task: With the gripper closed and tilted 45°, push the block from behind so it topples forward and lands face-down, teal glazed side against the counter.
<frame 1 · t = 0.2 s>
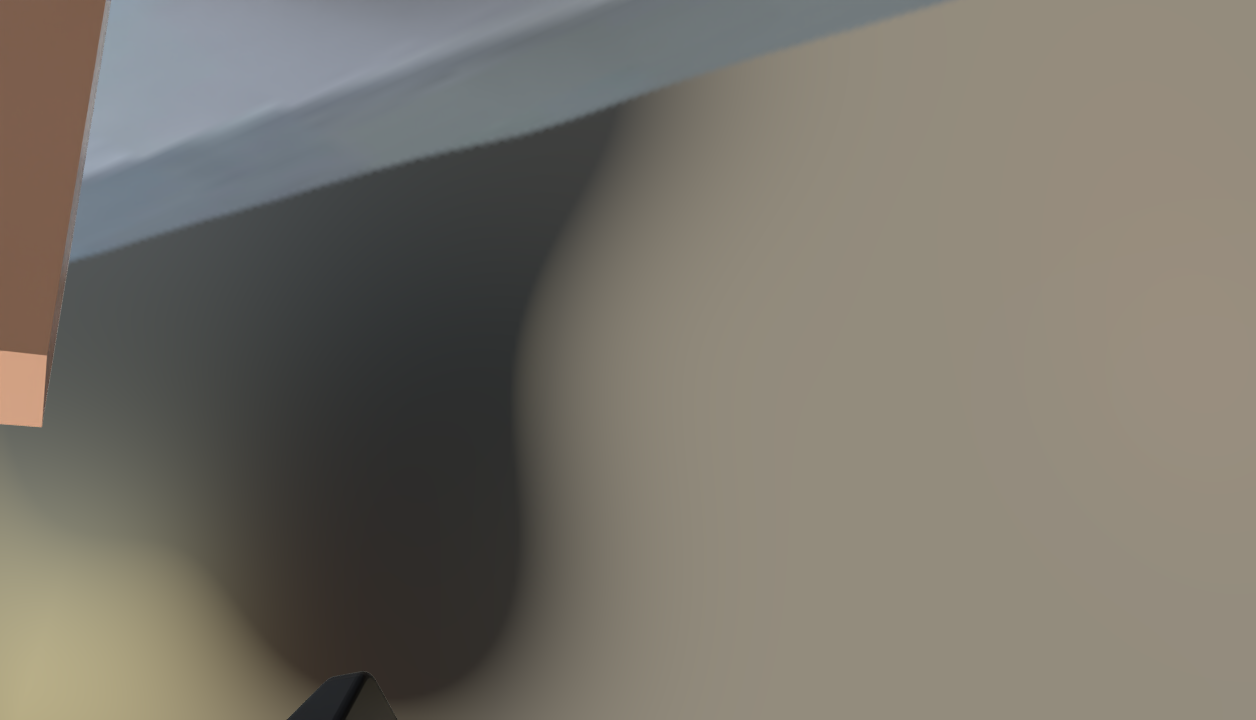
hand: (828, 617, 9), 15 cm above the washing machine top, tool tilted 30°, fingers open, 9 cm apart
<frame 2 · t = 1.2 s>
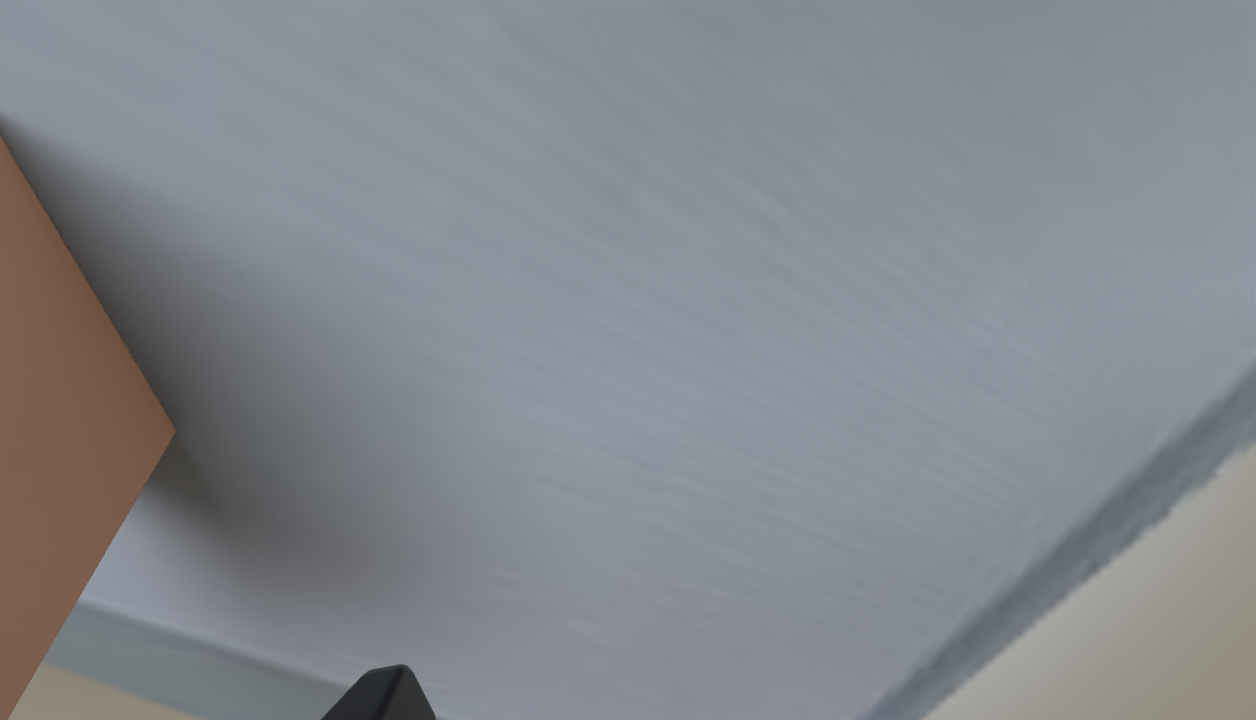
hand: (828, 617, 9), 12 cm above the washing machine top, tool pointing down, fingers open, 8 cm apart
block: (36, 295, 20), on the washing machine top
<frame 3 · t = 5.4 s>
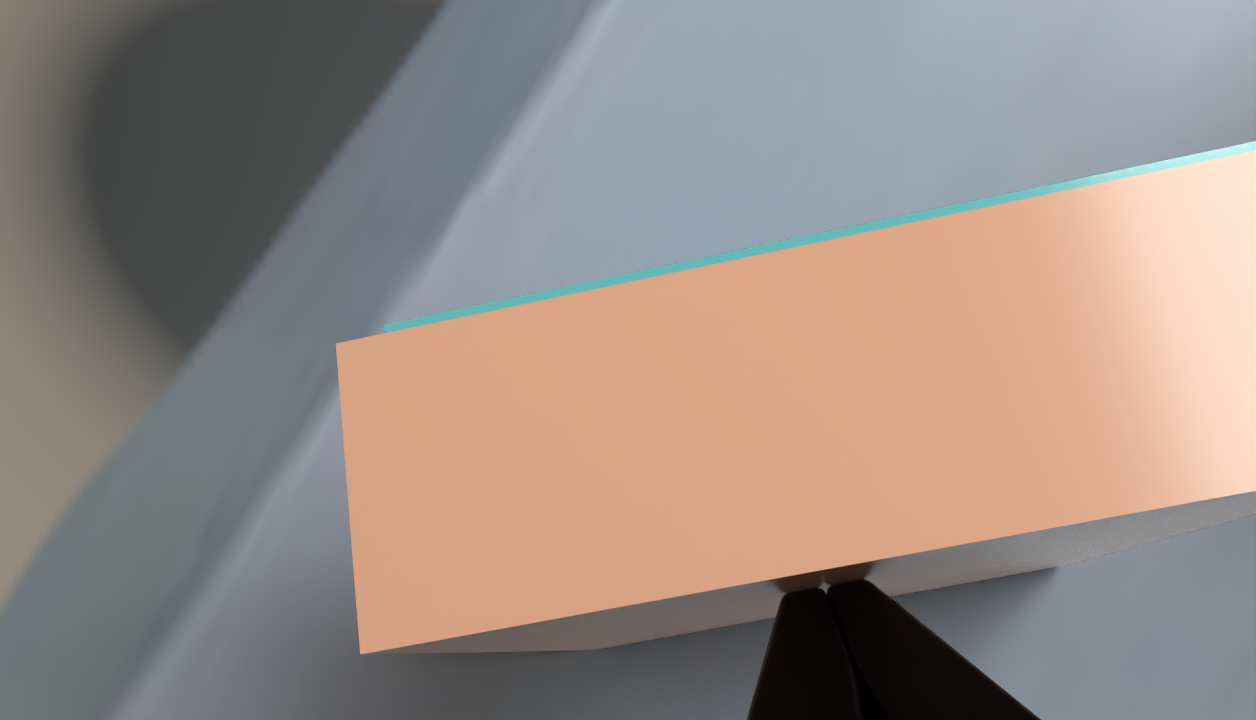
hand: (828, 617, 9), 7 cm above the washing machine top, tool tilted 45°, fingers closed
block: (809, 537, 16), on the washing machine top, tilted 5°
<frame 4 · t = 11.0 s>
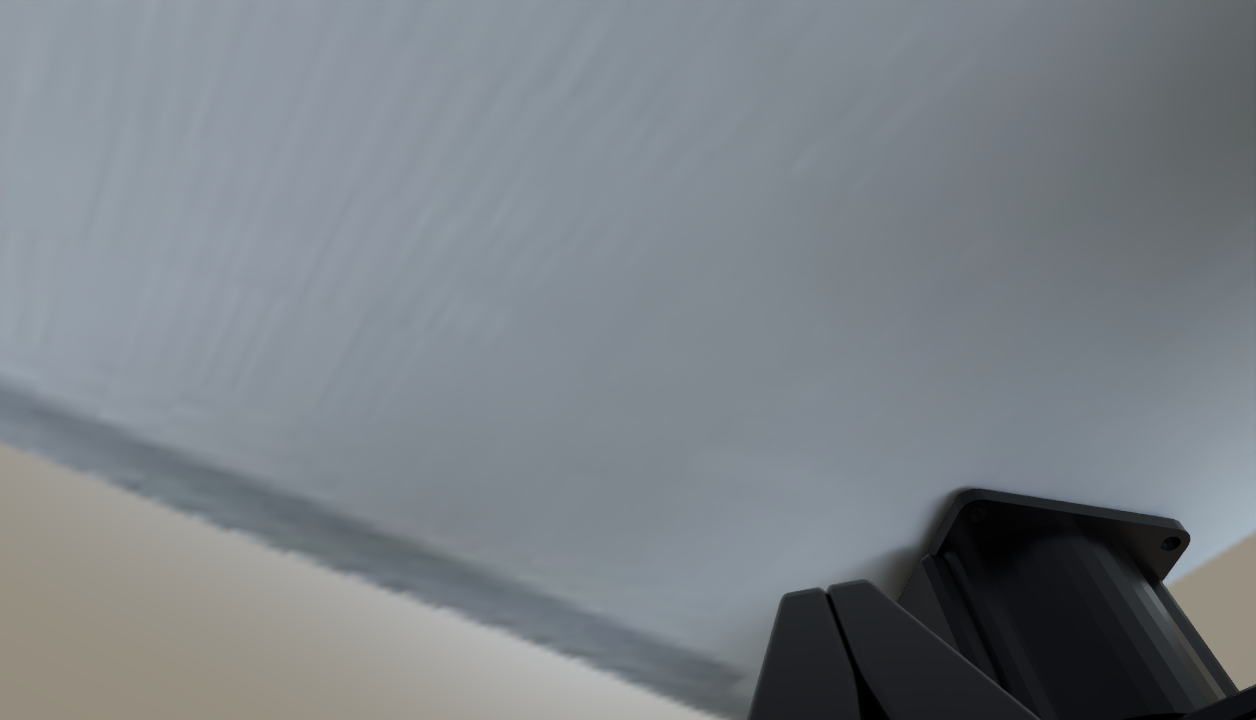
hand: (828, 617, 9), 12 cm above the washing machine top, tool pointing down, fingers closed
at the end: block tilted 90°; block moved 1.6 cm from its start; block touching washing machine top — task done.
